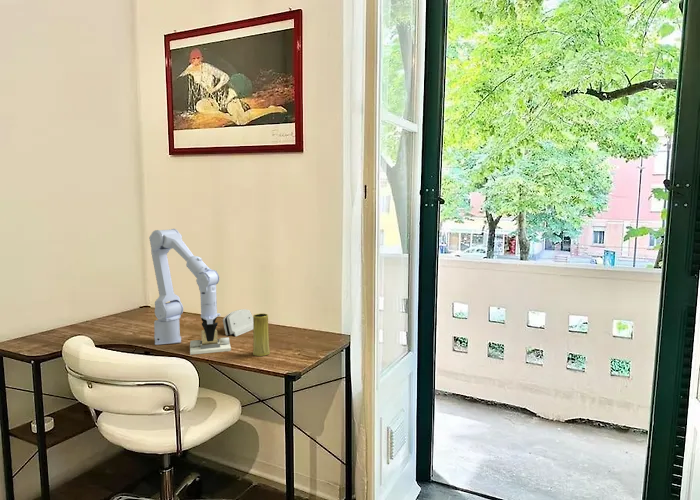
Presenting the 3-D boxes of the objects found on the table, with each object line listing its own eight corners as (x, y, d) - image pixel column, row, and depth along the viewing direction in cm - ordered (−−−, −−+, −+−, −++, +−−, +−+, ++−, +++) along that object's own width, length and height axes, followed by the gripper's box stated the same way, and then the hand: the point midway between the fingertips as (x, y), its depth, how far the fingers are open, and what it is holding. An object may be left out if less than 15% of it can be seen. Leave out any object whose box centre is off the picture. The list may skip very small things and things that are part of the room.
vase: (270, 351, 183) (270, 313, 181) (268, 356, 177) (268, 317, 175) (254, 351, 183) (253, 313, 181) (251, 356, 177) (250, 317, 175)
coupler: (217, 343, 189) (216, 329, 189) (217, 346, 186) (217, 331, 185) (202, 344, 188) (201, 330, 187) (202, 347, 184) (201, 333, 183)
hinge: (235, 336, 202) (228, 313, 202) (226, 339, 204) (219, 316, 204) (259, 326, 217) (252, 305, 217) (250, 329, 219) (243, 307, 219)
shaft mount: (190, 354, 179) (189, 345, 179) (190, 345, 190) (189, 336, 190) (231, 350, 183) (230, 341, 183) (228, 341, 195) (228, 333, 194)
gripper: (220, 306, 179) (222, 342, 181) (218, 298, 193) (219, 332, 195) (200, 307, 177) (201, 344, 179) (199, 299, 191) (201, 334, 192)
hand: (209, 338), depth 186 cm, fingers open, 6 cm apart
